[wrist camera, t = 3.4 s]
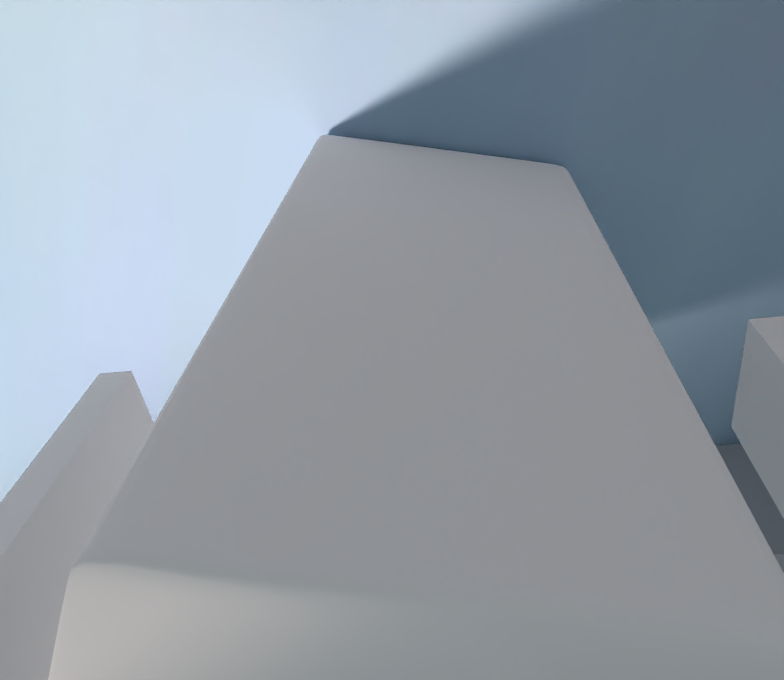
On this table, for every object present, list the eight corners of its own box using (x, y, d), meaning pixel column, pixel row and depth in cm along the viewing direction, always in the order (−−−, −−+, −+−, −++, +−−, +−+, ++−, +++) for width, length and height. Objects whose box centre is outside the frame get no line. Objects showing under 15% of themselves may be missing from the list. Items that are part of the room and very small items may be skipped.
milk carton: (514, 367, 23) (704, 1457, 6) (308, 340, 22) (-18, 1374, 6) (567, 163, 19) (1338, 1568, 3) (320, 131, 19) (-409, 1370, 3)
